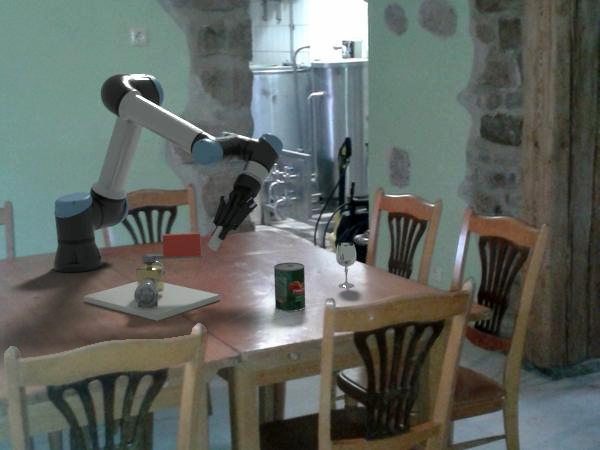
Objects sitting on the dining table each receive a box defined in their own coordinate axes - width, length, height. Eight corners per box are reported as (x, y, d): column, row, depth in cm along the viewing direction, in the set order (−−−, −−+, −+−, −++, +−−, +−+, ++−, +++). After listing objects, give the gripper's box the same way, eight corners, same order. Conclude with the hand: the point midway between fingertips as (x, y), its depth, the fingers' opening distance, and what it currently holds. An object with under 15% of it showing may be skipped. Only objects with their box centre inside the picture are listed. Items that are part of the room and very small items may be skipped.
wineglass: (355, 288, 220) (354, 246, 218) (334, 288, 221) (334, 246, 219) (357, 283, 226) (357, 242, 224) (338, 282, 227) (337, 242, 225)
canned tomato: (302, 312, 200) (301, 270, 198) (272, 311, 202) (271, 269, 199) (307, 303, 208) (306, 262, 206) (278, 302, 209) (277, 262, 207)
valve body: (142, 283, 226) (140, 253, 224) (167, 282, 226) (165, 252, 225) (133, 310, 200) (130, 275, 198) (160, 308, 201) (158, 274, 199)
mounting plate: (84, 301, 215) (83, 296, 214) (146, 283, 231) (146, 278, 231) (157, 320, 196) (156, 315, 196) (219, 300, 213) (219, 294, 212)
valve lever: (141, 264, 210) (140, 237, 208) (143, 260, 213) (141, 234, 212) (201, 261, 211) (199, 234, 210) (201, 258, 215) (200, 231, 213)
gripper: (273, 190, 225) (236, 258, 215) (240, 187, 233) (202, 252, 223) (260, 173, 220) (221, 243, 210) (227, 171, 228) (187, 237, 218)
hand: (211, 247), depth 217 cm, fingers closed
